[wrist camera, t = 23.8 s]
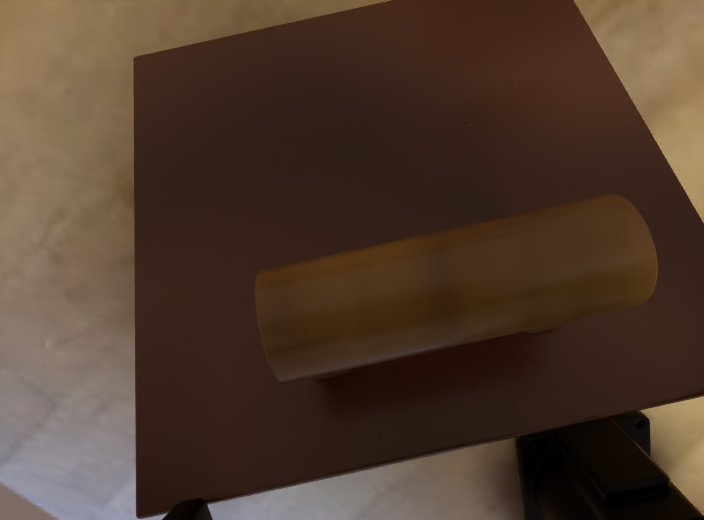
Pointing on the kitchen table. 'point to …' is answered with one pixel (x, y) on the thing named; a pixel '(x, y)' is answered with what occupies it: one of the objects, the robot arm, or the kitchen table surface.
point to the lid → (396, 246)
